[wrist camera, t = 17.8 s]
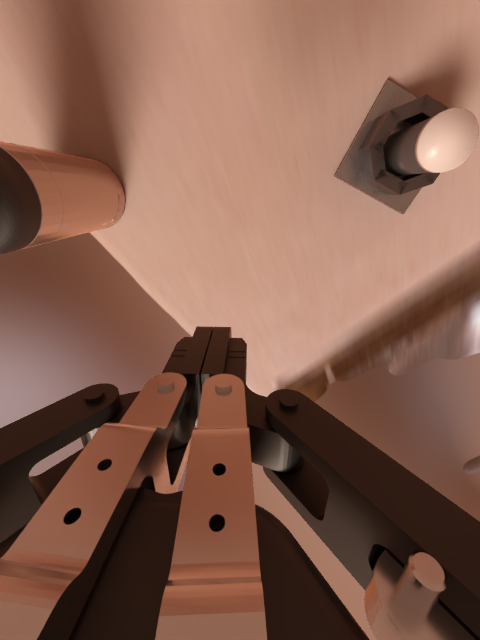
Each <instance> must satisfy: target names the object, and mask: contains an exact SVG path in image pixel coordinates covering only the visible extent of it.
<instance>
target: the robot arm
mask: <svg viewBox="0 0 480 640" xmlns="http://www.w3.org/2000/svg"><path fill="white" fill-rule="evenodd" d="M124 207H125V195H124V191H123V187H122V185H121V183H120V181H119V179H118V177H117V176H116V174H115V173H114V172H113V171H112V170H111V169H110V168H109V167H108V166H106V165H105V164H104V163H102V162H100V161H97V160H94V159H90V158H85V157H80V156H75V155H70V154H65V153H59V152H54V151H49V150H43V149H38V148H33V147H27V146H22V145H17V144H12V143H5V142H0V254H4V253H8V252H12V251H16V250H20V249H24V248H28V247H32V246H36V245H40V244H44V243H47V242H52V241H55V240H60V239H63V238H67V237H71V236H75V235H79V234H83V233H87V232H92V231H95V230H99V229H103V228H107V227H110V226H112V225H114V224H115V223H116V222H117V221H118V220H119V219H120V218H121V216H122V214H123V211H124ZM246 356H247V344H246V343H245V341H244V340H243V339H242V338H231V327H196V330H195V332H194V335H193V337H184V338H183V339H182V340H180V341H179V342H178V343H177V344H176V346H175V348H174V351H173V352H172V354H171V357H170V358H169V360H168V362H167V364H166V366H165V368H164V370H163V372H162V374H158V375H156V376H154V377H152V378H151V379H149V380H148V381H147V383H146V384H145V385H144V387H143V388H142V390H141V391H138V392H134V393H128V394H123V395H119V391H118V388H117V387H115V386H114V385H112V384H96V385H92V386H89V387H87V388H85V389H83V390H80V391H78V392H76V393H75V394H72V395H70V396H68V397H66V398H64V399H61V400H59V401H57V402H55V403H53V404H51V405H49V406H47V407H45V408H43V409H40V410H38V411H36V412H34V413H32V414H30V415H28V416H26V417H23V418H21V419H19V420H17V421H15V422H13V423H11V424H9V425H7V426H4V427H3V428H0V640H369V638H368V637H367V636H366V634H365V633H364V631H363V630H362V629H361V627H360V626H359V625H358V623H357V622H356V621H355V619H354V618H353V617H352V615H351V614H350V612H349V611H348V610H347V608H346V607H345V606H344V604H343V603H342V602H341V600H340V599H339V598H338V596H337V595H336V594H335V592H334V591H333V590H332V588H331V587H330V585H329V584H328V583H327V581H326V580H325V579H324V577H323V576H322V575H321V573H320V572H319V571H318V569H317V568H316V566H315V565H314V564H313V562H312V561H311V560H310V558H309V557H308V556H307V554H306V553H305V551H304V550H303V549H302V548H301V546H300V545H299V544H298V542H297V541H296V539H295V538H294V537H293V535H292V534H291V533H290V531H289V530H288V529H287V528H286V527H285V526H284V525H283V524H282V523H281V522H280V520H278V519H277V518H276V517H275V516H274V515H272V514H271V513H269V512H268V511H267V510H265V509H264V508H262V507H259V506H258V505H256V504H255V500H254V487H253V474H252V462H253V463H255V464H259V465H261V466H263V470H264V472H265V474H266V475H267V477H268V478H269V479H270V480H271V482H272V483H273V484H274V485H275V486H276V487H277V488H278V490H279V491H280V492H281V493H282V494H283V495H284V497H285V498H286V499H287V500H288V501H289V502H290V504H291V505H292V506H293V507H294V508H295V509H296V510H297V512H298V513H299V514H300V515H301V516H302V518H303V519H304V520H305V521H306V522H307V523H308V524H309V526H310V527H311V528H312V529H313V530H314V532H315V533H316V534H317V535H318V536H319V537H320V539H321V540H322V541H323V542H324V543H325V544H326V545H327V547H328V548H329V549H330V550H331V551H332V552H333V554H334V555H335V556H336V557H337V558H338V559H339V561H340V562H341V563H342V564H343V565H344V566H345V568H346V569H347V570H348V571H349V572H350V573H351V574H352V576H353V577H354V578H355V579H356V580H357V581H358V583H359V584H360V585H361V586H362V587H363V588H364V590H365V598H364V605H365V611H366V616H367V619H368V622H369V625H370V627H371V630H372V631H373V634H374V635H375V637H376V639H377V640H480V522H479V521H478V520H476V519H475V518H473V517H472V516H471V515H469V514H468V513H467V512H465V511H464V510H463V509H461V508H460V507H458V506H457V505H456V504H454V503H453V502H452V501H450V500H449V499H447V498H446V497H445V496H443V495H442V494H440V493H439V492H438V491H436V490H435V489H434V488H432V487H431V486H429V485H428V484H427V483H425V482H424V481H422V480H421V479H420V478H418V477H417V476H416V475H414V474H413V473H411V472H410V471H409V470H407V469H406V468H404V467H403V466H402V465H400V464H399V463H398V462H396V461H395V460H393V459H392V458H391V457H389V456H388V455H387V454H385V453H384V452H382V451H381V450H379V449H378V448H377V447H375V446H374V445H373V444H371V443H370V442H368V441H367V440H366V439H364V438H363V437H362V436H360V435H359V434H357V433H356V432H355V431H353V430H352V429H351V428H349V427H348V426H346V425H345V424H344V423H342V422H341V421H339V420H338V419H337V418H335V417H334V416H333V415H331V414H330V413H328V412H327V411H325V410H324V409H323V408H321V407H320V406H319V405H317V404H316V403H314V402H313V401H312V400H310V399H309V398H308V397H306V396H305V395H303V394H302V393H300V392H297V391H294V390H289V389H282V390H277V391H274V392H272V393H271V394H270V395H269V396H268V397H264V396H261V395H258V394H256V393H254V392H252V391H251V390H250V389H249V388H248V387H247V385H246ZM195 426H197V428H194V427H195ZM79 437H81V440H82V443H83V446H84V448H83V449H81V450H79V451H78V452H76V453H75V454H73V455H71V456H70V457H68V458H67V459H65V460H63V461H61V462H60V463H58V464H57V465H55V466H53V467H52V468H50V469H48V470H47V471H45V472H44V473H42V474H40V475H38V476H33V477H30V476H29V472H30V470H31V469H32V467H33V466H34V465H35V464H36V463H38V462H39V461H41V460H42V459H44V458H46V457H47V456H49V455H51V454H52V453H54V452H56V451H58V450H59V449H61V448H63V447H65V446H66V445H68V444H70V443H71V442H73V441H75V440H76V439H78V438H79ZM187 459H188V462H187ZM186 462H187V468H186V475H185V481H184V487H183V491H180V492H177V489H178V486H179V483H180V480H181V477H182V474H183V471H184V468H185V465H186Z"/></svg>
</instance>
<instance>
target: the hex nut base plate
mask: <svg viewBox="0 0 480 640" xmlns="http://www.w3.org/2000/svg"><path fill="white" fill-rule="evenodd" d="M447 109H449V108H447V107H446V106H444V105H442V104H441V103H439V102H438V101H436V100H435V99H433V98H431V97H430V96H428V95H425V96H423V97H420V98H417V97H416V96H414V95H412V94H411V93H409V92H408V91H406V90H405V89H403V88H401V87H400V86H398V85H397V84H395V83H393V82H392V81H390V80H389V79H388V80H387V81H386V83H385V85H384V87H383V89H382V90H381V92H380V94H379V96H378V98H377V99H376V101H375V103H374V105H373V107H372V108H371V110H370V112H369V114H368V116H367V117H366V119H365V121H364V123H363V125H362V127H361V128H360V130H359V132H358V134H357V136H356V137H355V139H354V141H353V143H352V145H351V146H350V148H349V150H348V152H347V154H346V155H345V157H344V159H343V161H342V163H341V165H340V166H339V168H338V170H337V172H336V174H335V175H334V176H335V177H337V178H339V179H340V180H342V181H344V182H346V183H347V184H349V185H351V186H353V187H355V188H356V189H358V190H360V191H362V192H364V193H365V194H367V195H369V196H371V197H373V198H374V199H376V200H378V201H380V202H382V203H383V204H385V205H387V206H389V207H391V208H392V209H394V210H396V211H398V212H400V213H401V214H404V213H405V211H406V210H407V208H408V207H409V205H410V204H411V203H412V201H413V200H414V198H415V197H416V195H417V194H418V192H419V191H420V190H421V188H422V187H424V186H427V185H430V184H433V183H434V181H435V180H436V178H437V177H438V176H439V174H440V173H431V172H430V173H420V174H411V175H401V176H394V175H393V174H391V173H389V172H387V171H386V168H385V160H384V152H383V146H384V144H385V142H386V141H387V139H388V137H389V136H391V135H392V134H394V133H396V132H398V131H400V130H403V129H405V128H407V127H410V126H412V125H415V124H417V123H419V122H422V121H424V120H427V119H429V118H431V117H433V116H435V115H437V114H438V113H440V112H443V111H445V110H447Z"/></svg>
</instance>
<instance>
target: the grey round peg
mask: <svg viewBox="0 0 480 640" xmlns="http://www.w3.org/2000/svg"><path fill="white" fill-rule="evenodd" d="M478 134H479V127H478V122H477V119H476V117H475V116H474V114H473V113H472V112H470V111H469V110H467V109H464V108H451V109H447V110H445V111H443V112H440V113H438V114H437V115H435V116H433V117H431V118H429V119H427V120H424V121H422V122H419V123H417V124H415V125H412V126H410V127H407V128H405V129H403V130H400V131H398V132H396V133H394V134H392V135H391V136H389V137H388V139H387V141H386V142H385V144H384V146H383V152H384V160H385V168H386V171H387V172H389V173H391V174H393V175H394V176H401V175H411V174H420V173H430V172H431V173H441V172H447V171H450V170H452V169H454V168H456V167H458V166H459V165H461V164H462V163H463V162H464V161H465V160H466V159H467V158H468V157H469V156H470V154H471V153H472V151H473V149H474V147H475V145H476V143H477V139H478Z"/></svg>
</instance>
